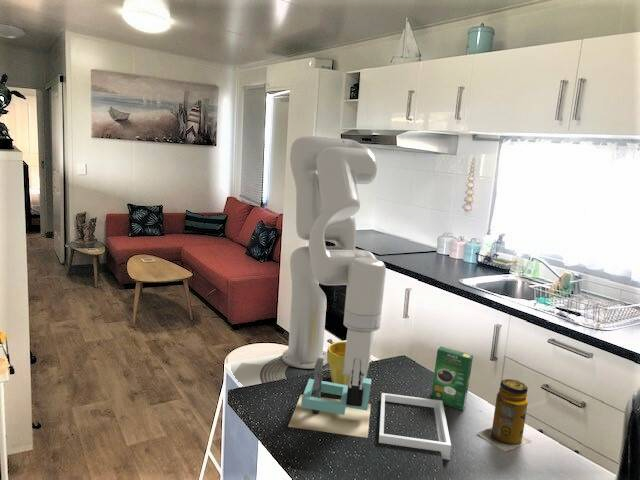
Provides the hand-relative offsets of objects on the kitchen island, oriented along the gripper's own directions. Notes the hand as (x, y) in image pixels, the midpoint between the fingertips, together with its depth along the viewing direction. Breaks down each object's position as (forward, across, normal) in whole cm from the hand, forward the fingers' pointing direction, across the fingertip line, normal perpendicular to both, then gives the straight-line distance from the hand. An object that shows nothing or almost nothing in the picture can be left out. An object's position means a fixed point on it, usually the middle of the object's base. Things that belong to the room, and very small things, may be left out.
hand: (354, 400), depth 105 cm
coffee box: (+5, -15, +22) cm, 27 cm away
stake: (+4, 0, -8) cm, 9 cm away
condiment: (+5, -3, +32) cm, 32 cm away
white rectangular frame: (+5, -1, +12) cm, 13 cm away
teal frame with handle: (+1, 0, -4) cm, 4 cm away
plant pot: (+6, -17, -3) cm, 18 cm away
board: (+5, 0, -4) cm, 7 cm away
